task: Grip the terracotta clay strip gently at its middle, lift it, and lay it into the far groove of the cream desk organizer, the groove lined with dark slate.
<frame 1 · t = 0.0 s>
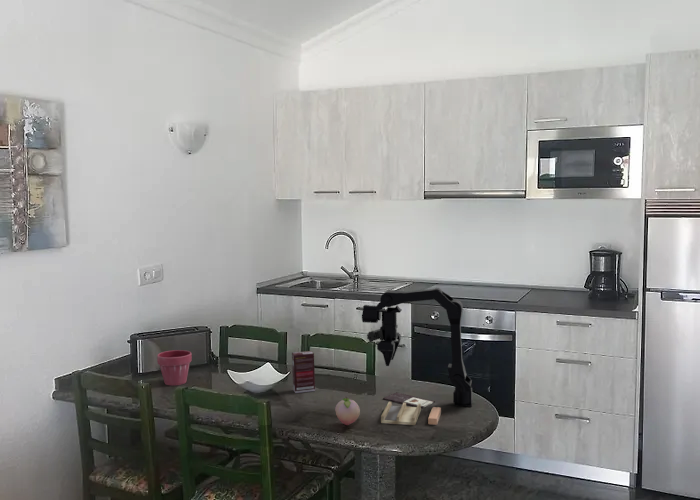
hand: (389, 362, 262), 15 cm above the table, tool pointing down, fingers open, 9 cm apart
decorative fruit: (348, 425, 236), on the table
supplement box: (303, 391, 276), on the table
clay strip: (434, 419, 241), on the table
cream desk organizer: (401, 416, 244), on the table
plant pot: (175, 383, 291), on the table
chocolate bar: (408, 402, 262), on the table
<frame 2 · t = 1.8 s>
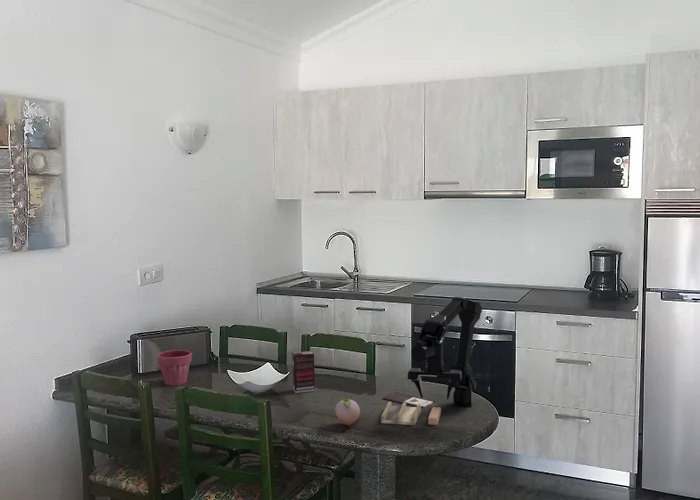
hand: (434, 398, 241), 7 cm above the table, tool pointing down, fingers open, 9 cm apart
nothing on the table moved.
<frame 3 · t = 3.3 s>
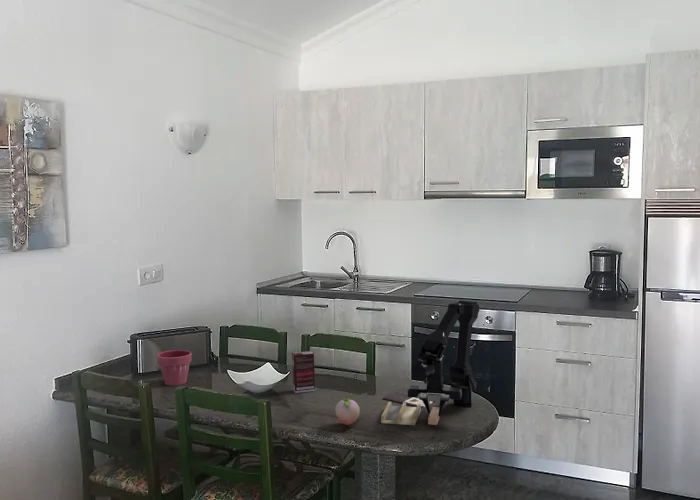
hand: (434, 415, 241), 1 cm above the table, tool pointing down, fingers closed on clay strip, 3 cm apart
clay strip: (434, 419, 241), on the table, touching gripper
everything else where it was.
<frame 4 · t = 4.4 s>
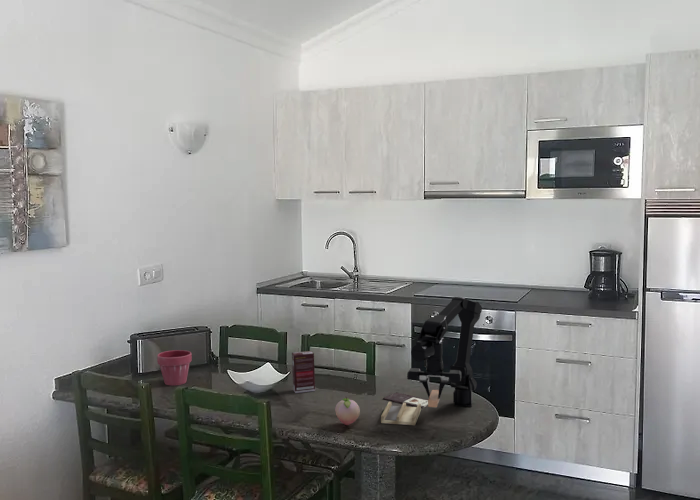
hand: (434, 398, 240), 7 cm above the table, tool pointing down, fingers closed on clay strip, 3 cm apart
clay strip: (434, 401, 241), point 6 cm above the table, touching gripper
everything else where it was.
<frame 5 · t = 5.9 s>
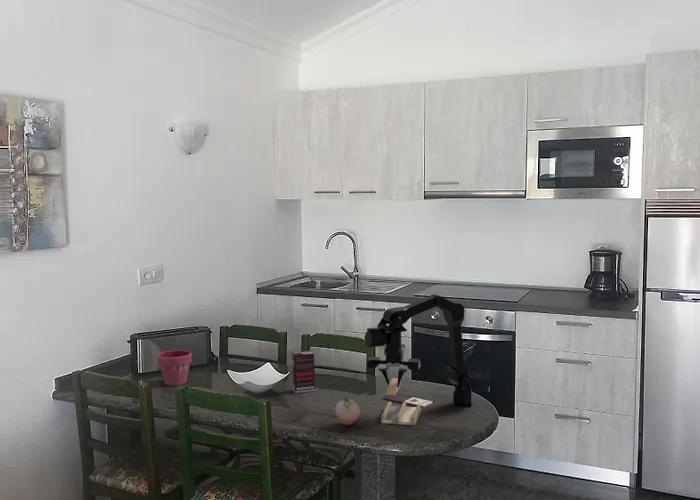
hand: (393, 386, 244), 11 cm above the table, tool pointing down, fingers closed on clay strip, 3 cm apart
clay strip: (393, 389, 244), point 10 cm above the table, touching gripper
everything else where it was.
when the fingers open (3 cm above the table, at t = 7.8 s): clay strip stays where it is, resting on cream desk organizer.
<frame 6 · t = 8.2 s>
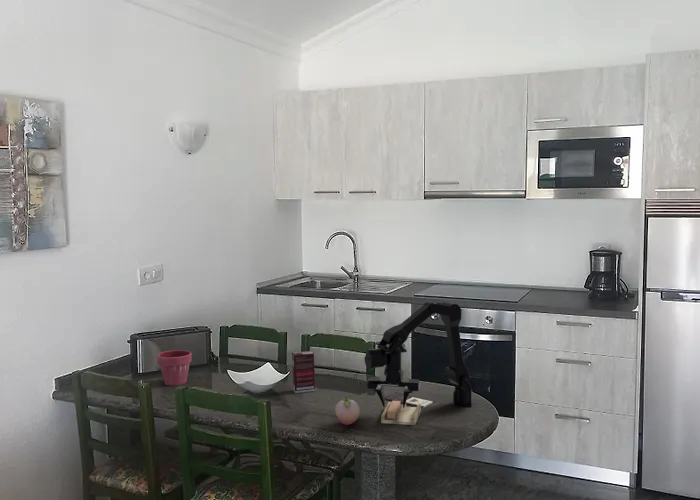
hand: (394, 407, 244), 3 cm above the table, tool pointing down, fingers open, 7 cm apart
clay strip: (394, 412, 244), point 1 cm above the table, touching cream desk organizer
everything else where it was.
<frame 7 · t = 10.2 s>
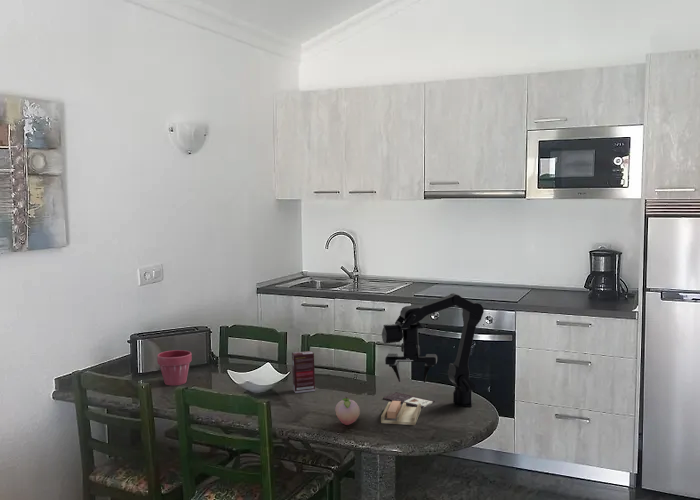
hand: (412, 381, 251), 10 cm above the table, tool pointing down, fingers open, 9 cm apart
nothing on the table moved.
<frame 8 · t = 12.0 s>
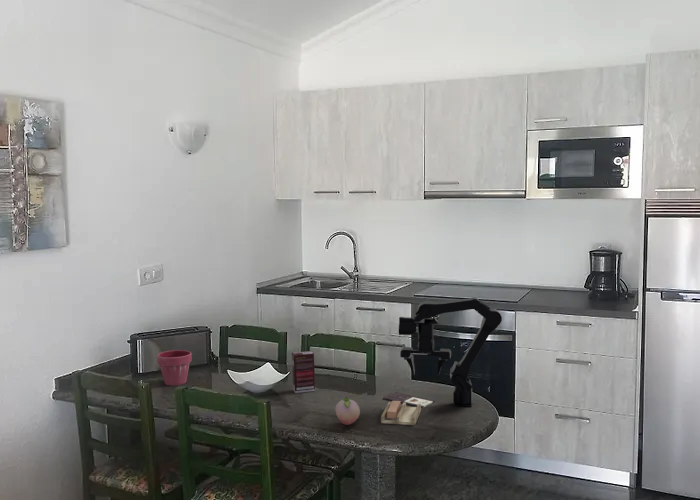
hand: (425, 375, 257), 11 cm above the table, tool pointing down, fingers open, 9 cm apart
nothing on the table moved.
at the end: clay strip inside the target area on the cream desk organizer (0.1 cm from its centre), point 1.2 cm above the cream desk organizer's base; clay strip tilted 0°; the gripper is holding nothing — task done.
